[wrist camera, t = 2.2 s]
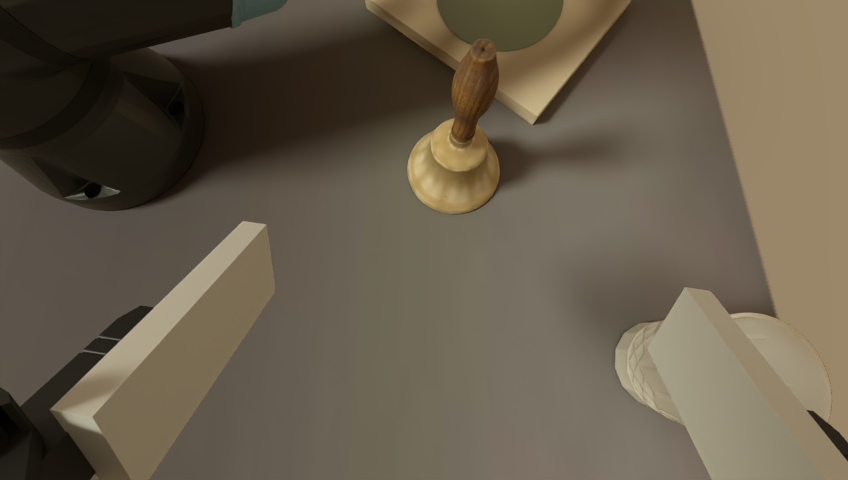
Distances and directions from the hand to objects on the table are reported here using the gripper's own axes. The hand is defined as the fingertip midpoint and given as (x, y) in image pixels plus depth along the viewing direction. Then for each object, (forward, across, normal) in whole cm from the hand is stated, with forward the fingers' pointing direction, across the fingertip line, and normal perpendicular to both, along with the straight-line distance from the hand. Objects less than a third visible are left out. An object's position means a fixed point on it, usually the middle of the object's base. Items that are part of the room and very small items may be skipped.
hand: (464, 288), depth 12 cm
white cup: (+13, +18, -16) cm, 27 cm away
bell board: (+35, +1, +7) cm, 36 cm away
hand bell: (+23, -1, -5) cm, 24 cm away
